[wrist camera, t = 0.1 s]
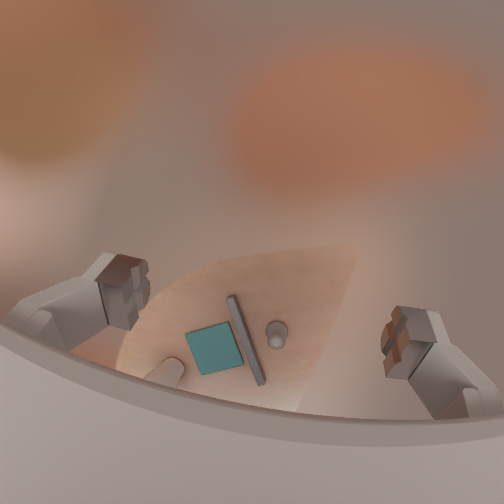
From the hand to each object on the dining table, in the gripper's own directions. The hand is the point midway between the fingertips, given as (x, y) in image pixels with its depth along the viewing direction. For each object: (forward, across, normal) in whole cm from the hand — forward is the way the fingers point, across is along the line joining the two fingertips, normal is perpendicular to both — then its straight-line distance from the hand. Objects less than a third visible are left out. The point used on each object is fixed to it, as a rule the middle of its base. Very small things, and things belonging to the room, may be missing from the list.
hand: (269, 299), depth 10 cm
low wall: (+38, -2, -44) cm, 58 cm away
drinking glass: (+33, -18, -54) cm, 65 cm away
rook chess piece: (+39, +3, -42) cm, 57 cm away
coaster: (+36, -9, -47) cm, 60 cm away
